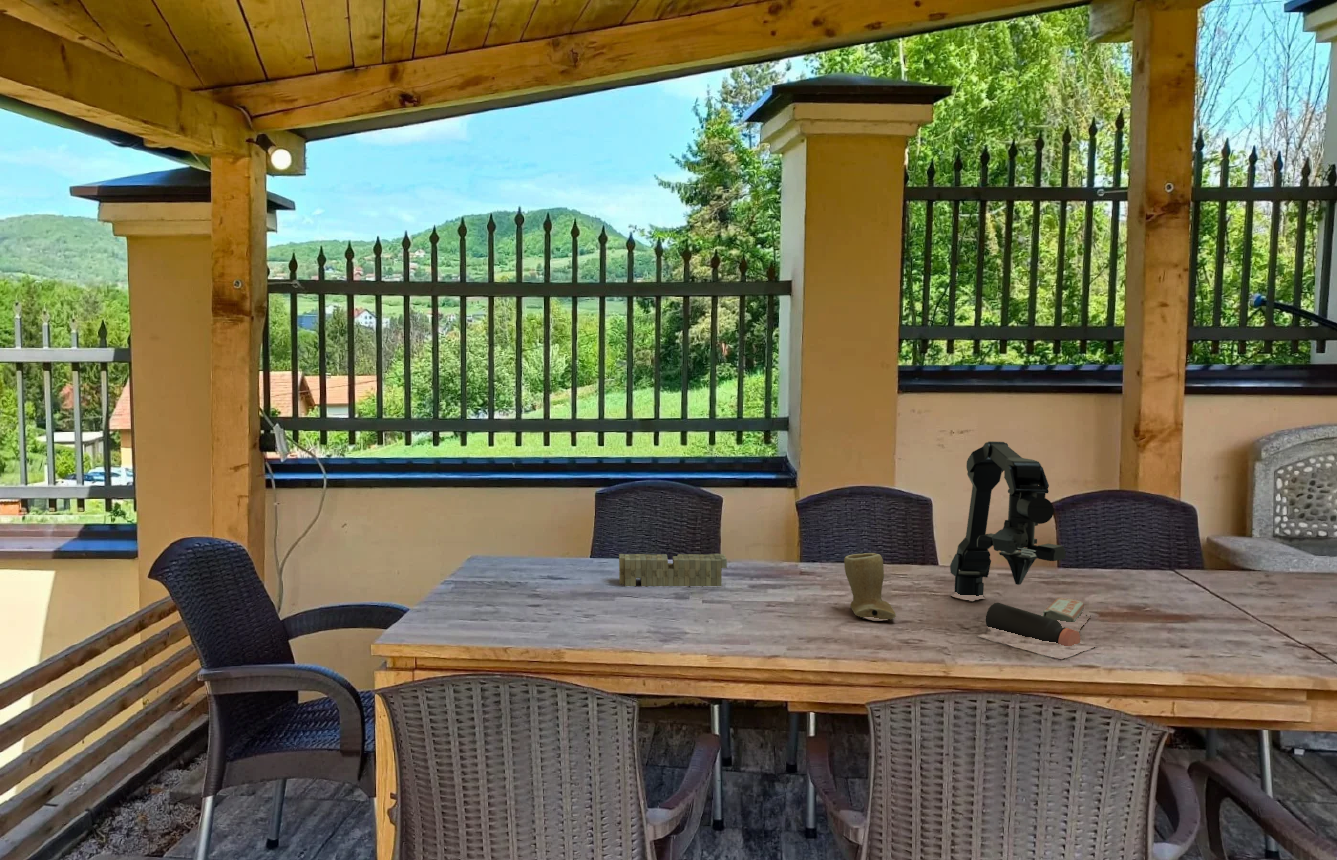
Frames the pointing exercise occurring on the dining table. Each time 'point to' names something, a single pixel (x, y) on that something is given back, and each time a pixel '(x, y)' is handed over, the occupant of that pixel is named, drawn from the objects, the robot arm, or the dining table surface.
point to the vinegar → (1029, 625)
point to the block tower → (672, 569)
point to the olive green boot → (867, 585)
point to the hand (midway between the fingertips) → (1018, 584)
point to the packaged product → (1064, 610)
